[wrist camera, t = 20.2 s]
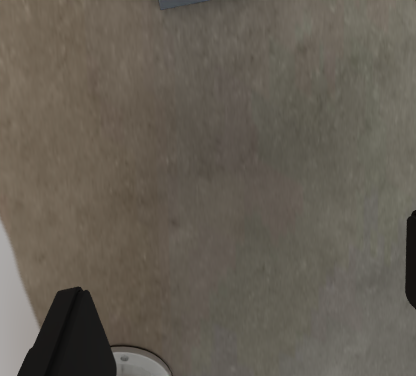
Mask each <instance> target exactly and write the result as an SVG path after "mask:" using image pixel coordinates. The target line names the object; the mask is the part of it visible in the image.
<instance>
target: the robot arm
mask: <svg viewBox="0 0 416 376" xmlns="http://www.w3.org/2000/svg"><path fill="white" fill-rule="evenodd" d="M405 292H406V297H407V299H408V301H409V303H410V304H411V305H412V306H413V307H414V308H415V309H416V210H415V211H413V212H412V214H411V216H410V217H408V219H407V237H406V283H405ZM17 376H172V375H171V372H170V370H169V369H168V367H167V365H166V364H165V363H164V362H163V361H162V360H161V359H160V358H158V357H157V356H155V355H154V354H152V353H149V352H147V351H145V350H141V349H138V348H133V347H110V345H109V342H108V339H107V337H106V334H105V331H104V329H103V326H102V324H101V321H100V318H99V316H98V313H97V310H96V308H95V305H94V302H93V300H92V297H91V295H90V292H89V291H88V290H84V291H83V290H82V288H81V287H74V288H70V289H65V290H61V291H58V292H57V294H56V296H55V298H54V300H53V303H52V305H51V307H50V309H49V312H48V314H47V316H46V318H45V321H44V323H43V325H42V328H41V330H40V332H39V334H38V337H37V339H36V341H35V343H34V346H33V347H32V348H31V349H30V350H29V351H28V353H27V355H26V357H25V359H24V361H23V364H22V366H21V368H20V370H19V373H18V375H17Z"/></svg>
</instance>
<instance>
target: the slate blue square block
mask: <svg viewBox="0 0 416 376" xmlns="http://www.w3.org/2000/svg"><path fill="white" fill-rule="evenodd" d="M204 1H209V0H159V5H160V9H161V10H163V9H168V8H174V7H179V6H184V5H189V4H194V3H199V2H204Z"/></svg>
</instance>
